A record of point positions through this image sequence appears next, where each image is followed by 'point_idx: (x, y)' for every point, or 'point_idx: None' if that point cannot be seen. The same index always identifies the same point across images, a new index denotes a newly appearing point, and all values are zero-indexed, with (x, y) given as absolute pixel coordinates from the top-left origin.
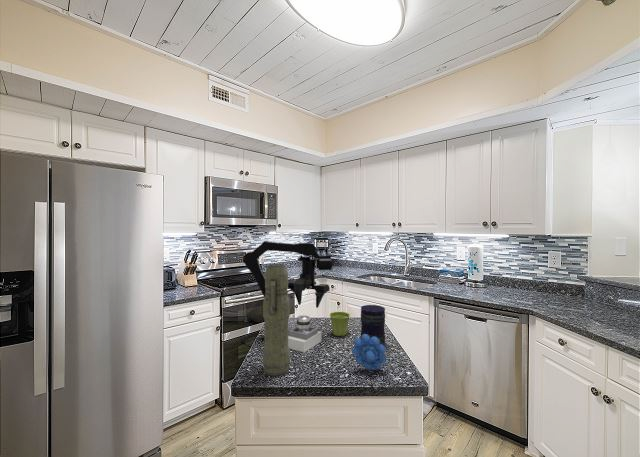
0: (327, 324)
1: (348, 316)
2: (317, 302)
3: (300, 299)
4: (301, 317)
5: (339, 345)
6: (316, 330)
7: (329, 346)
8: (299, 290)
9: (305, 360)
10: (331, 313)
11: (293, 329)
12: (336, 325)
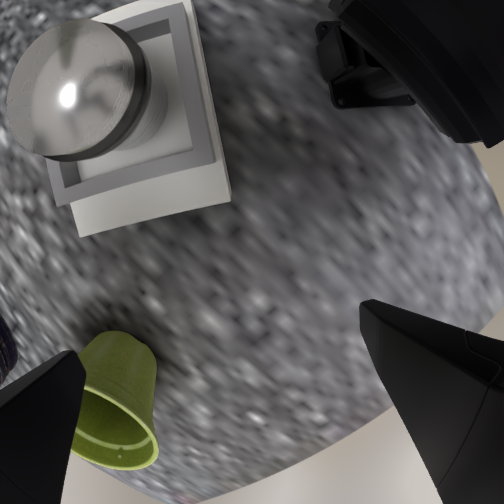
0: (266, 410)
1: (83, 443)
2: (12, 385)
3: (394, 377)
4: (70, 61)
5: (23, 246)
6: (56, 184)
7: (37, 202)
8: (492, 492)
9: (31, 25)
10: (148, 433)
11: (174, 42)
12: (81, 358)
